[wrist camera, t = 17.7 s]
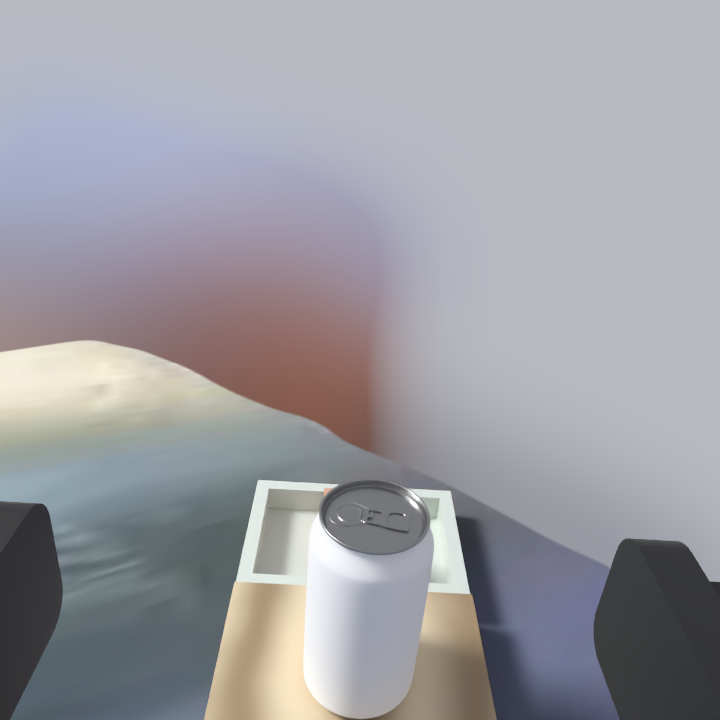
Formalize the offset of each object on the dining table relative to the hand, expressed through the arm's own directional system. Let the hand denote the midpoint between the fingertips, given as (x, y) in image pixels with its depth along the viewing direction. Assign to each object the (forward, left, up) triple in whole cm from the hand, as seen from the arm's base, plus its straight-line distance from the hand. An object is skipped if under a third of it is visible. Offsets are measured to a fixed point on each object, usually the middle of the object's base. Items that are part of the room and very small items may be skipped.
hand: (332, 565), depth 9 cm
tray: (+2, +31, -30) cm, 43 cm away
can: (+2, +19, -27) cm, 33 cm away
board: (+2, +19, -30) cm, 36 cm away
